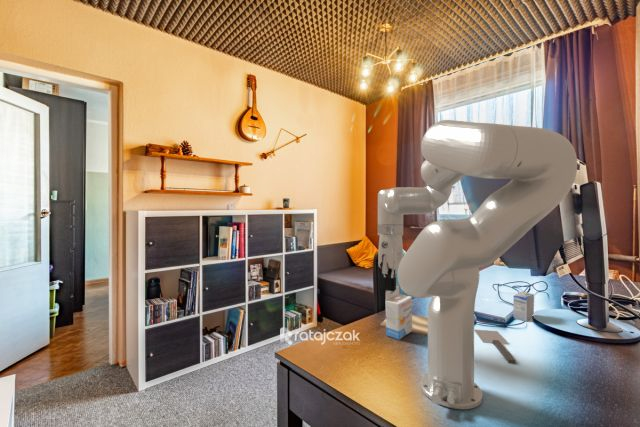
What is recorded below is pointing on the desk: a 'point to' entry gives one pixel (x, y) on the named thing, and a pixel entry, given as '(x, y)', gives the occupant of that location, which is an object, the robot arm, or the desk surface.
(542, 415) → the desk surface
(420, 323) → the cork mat
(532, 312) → the medicine box
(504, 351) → the steel turner
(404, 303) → the ink box
